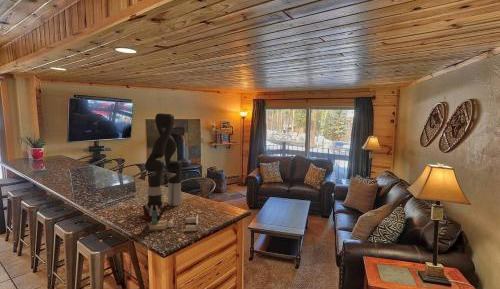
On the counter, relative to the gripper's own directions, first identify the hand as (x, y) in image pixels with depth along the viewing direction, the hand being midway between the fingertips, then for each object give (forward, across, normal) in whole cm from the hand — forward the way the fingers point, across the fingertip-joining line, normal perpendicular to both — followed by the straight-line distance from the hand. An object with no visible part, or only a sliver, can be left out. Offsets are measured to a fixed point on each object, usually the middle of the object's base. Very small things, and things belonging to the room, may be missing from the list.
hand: (154, 221), depth 158 cm
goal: (+4, -22, 0) cm, 22 cm away
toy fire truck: (+4, +4, -14) cm, 15 cm away
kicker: (+4, -2, 0) cm, 4 cm away
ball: (+4, -9, 0) cm, 10 cm away
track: (+4, -5, 0) cm, 6 cm away
